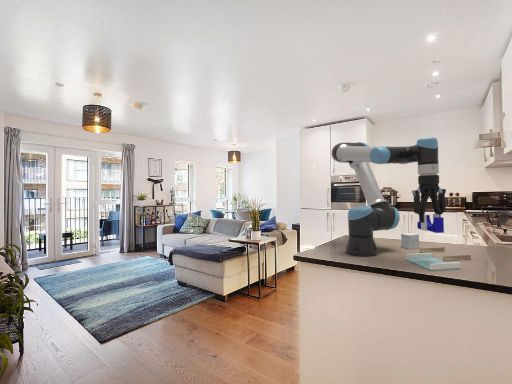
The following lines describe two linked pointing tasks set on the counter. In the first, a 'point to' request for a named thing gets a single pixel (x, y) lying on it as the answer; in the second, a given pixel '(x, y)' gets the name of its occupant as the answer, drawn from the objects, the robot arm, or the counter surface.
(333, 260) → the counter surface
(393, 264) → the counter surface
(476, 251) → the counter surface
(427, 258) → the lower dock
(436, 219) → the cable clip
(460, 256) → the upper dock
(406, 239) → the grey block
